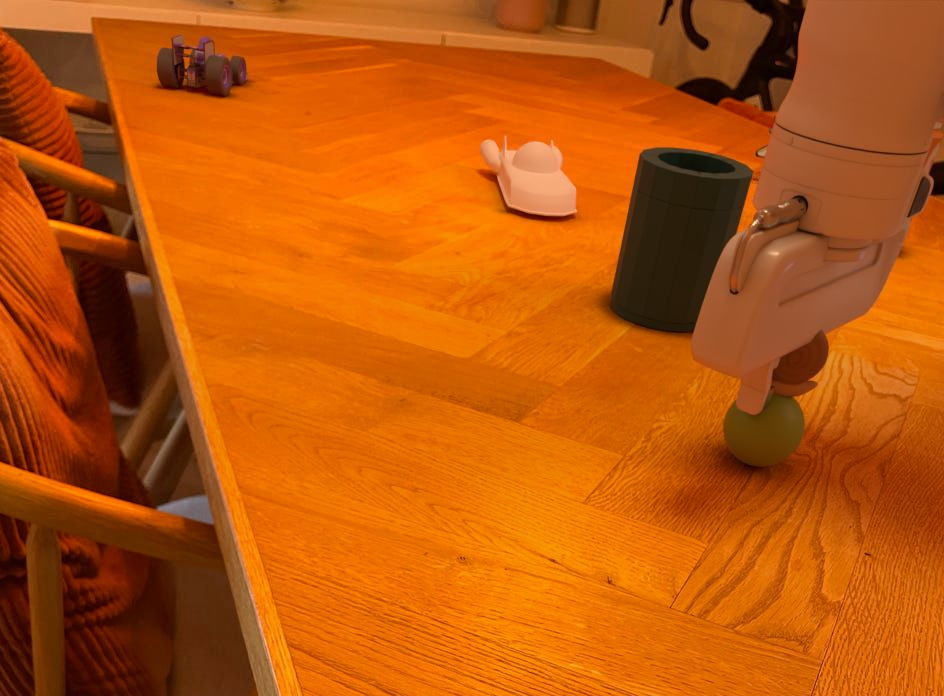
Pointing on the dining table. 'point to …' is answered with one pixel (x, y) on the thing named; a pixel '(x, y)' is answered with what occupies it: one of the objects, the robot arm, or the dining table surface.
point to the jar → (676, 234)
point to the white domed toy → (531, 178)
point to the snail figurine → (777, 409)
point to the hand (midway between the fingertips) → (764, 401)
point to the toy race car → (200, 67)
